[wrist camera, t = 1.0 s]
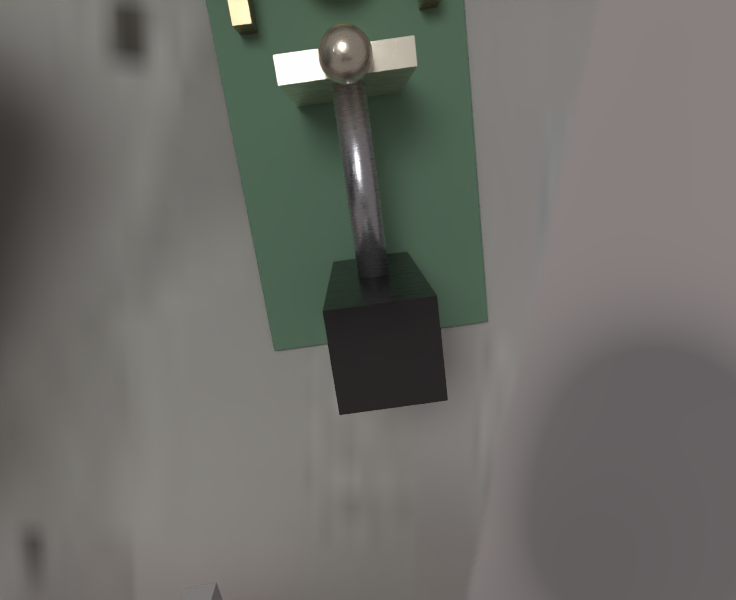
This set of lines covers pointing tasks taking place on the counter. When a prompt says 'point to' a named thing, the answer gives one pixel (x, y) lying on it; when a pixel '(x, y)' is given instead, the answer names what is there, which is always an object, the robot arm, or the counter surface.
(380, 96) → the mat
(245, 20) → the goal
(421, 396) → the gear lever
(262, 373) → the counter surface
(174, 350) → the counter surface
